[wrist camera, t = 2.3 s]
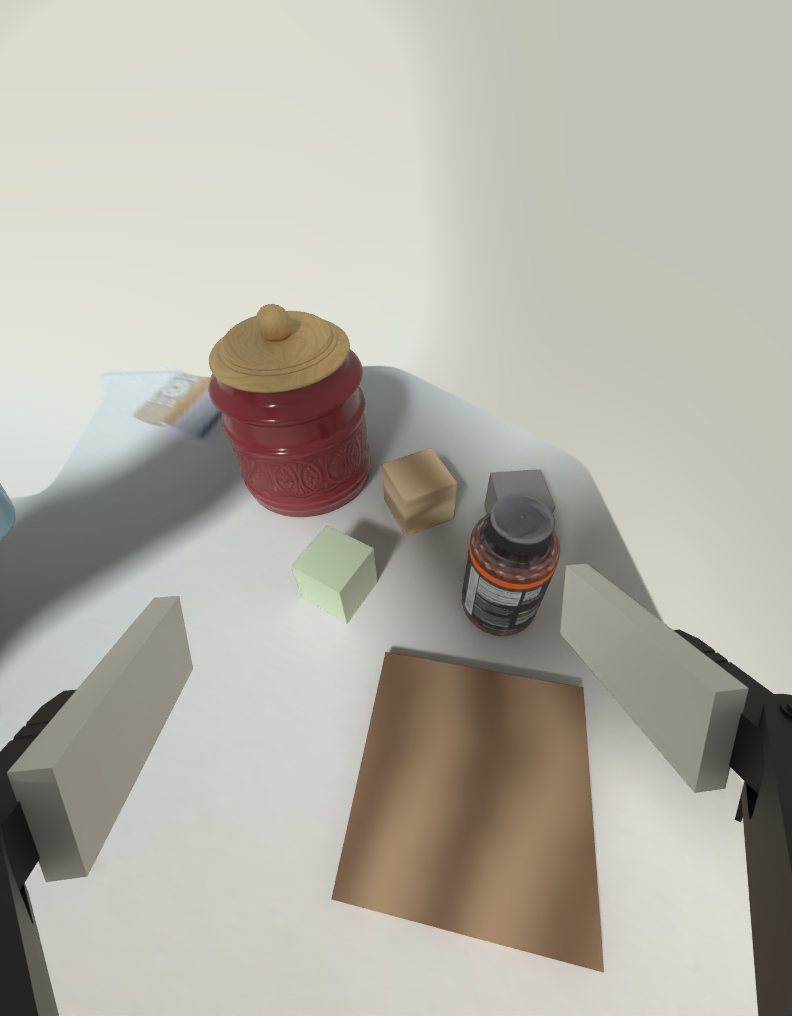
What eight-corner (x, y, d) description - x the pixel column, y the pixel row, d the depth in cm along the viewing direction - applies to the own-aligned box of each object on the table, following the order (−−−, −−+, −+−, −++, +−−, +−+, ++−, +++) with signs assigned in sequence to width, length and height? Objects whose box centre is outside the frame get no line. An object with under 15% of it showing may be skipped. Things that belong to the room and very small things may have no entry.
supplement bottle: (485, 561, 39) (506, 468, 31) (548, 598, 37) (589, 509, 28) (446, 609, 36) (456, 522, 28) (511, 654, 34) (544, 573, 25)
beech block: (405, 537, 41) (404, 501, 37) (384, 500, 44) (381, 464, 40) (453, 519, 42) (457, 482, 39) (429, 484, 45) (431, 447, 42)
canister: (370, 519, 43) (351, 348, 29) (235, 523, 43) (154, 355, 29) (373, 431, 51) (359, 268, 38) (260, 434, 51) (206, 273, 38)
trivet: (333, 899, 25) (331, 899, 24) (386, 657, 34) (385, 651, 33) (597, 969, 23) (603, 972, 22) (579, 692, 32) (583, 687, 31)
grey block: (494, 543, 40) (501, 510, 37) (484, 505, 43) (490, 472, 40) (543, 539, 41) (555, 507, 37) (530, 502, 44) (540, 469, 40)
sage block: (303, 599, 37) (290, 566, 33) (335, 560, 40) (327, 525, 36) (347, 624, 36) (339, 592, 32) (377, 582, 38) (373, 548, 34)
